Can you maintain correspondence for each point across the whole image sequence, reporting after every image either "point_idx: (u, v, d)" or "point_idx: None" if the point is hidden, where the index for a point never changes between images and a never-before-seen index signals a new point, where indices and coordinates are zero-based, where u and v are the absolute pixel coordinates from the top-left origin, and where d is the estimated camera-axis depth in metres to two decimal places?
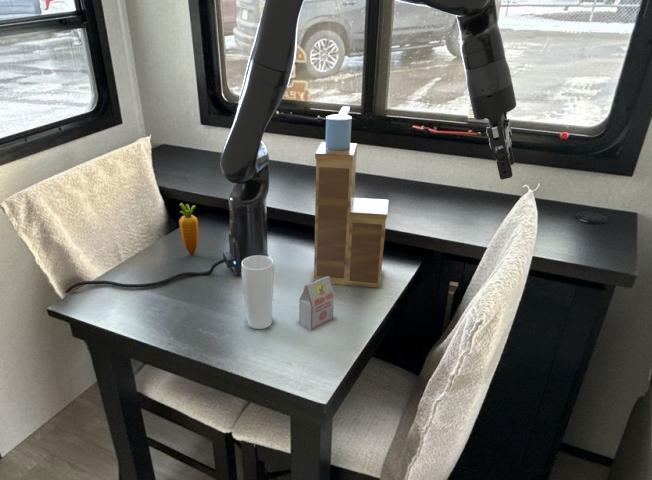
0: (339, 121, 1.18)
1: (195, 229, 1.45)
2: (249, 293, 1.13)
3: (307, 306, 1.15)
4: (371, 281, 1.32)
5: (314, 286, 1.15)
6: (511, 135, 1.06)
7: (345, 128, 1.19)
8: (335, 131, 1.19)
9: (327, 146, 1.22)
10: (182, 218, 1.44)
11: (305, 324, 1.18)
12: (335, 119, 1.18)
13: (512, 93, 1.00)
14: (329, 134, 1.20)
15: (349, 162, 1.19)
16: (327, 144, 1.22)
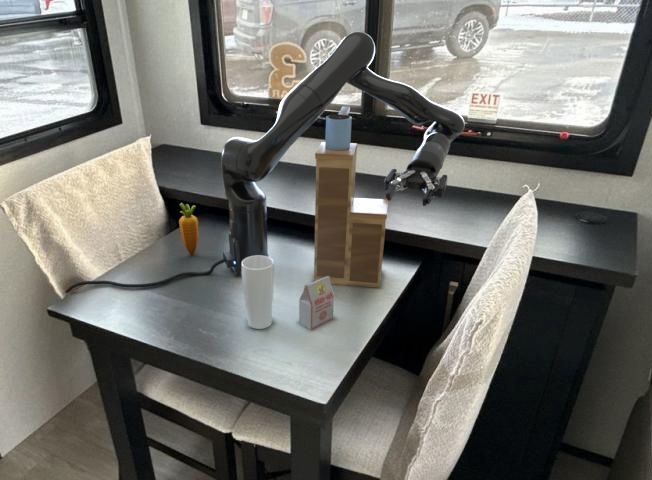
0: (339, 121, 1.18)
1: (195, 229, 1.45)
2: (249, 293, 1.13)
3: (307, 306, 1.15)
4: (371, 281, 1.32)
5: (314, 286, 1.15)
6: None
7: (345, 128, 1.19)
8: (335, 131, 1.19)
9: (327, 146, 1.22)
10: (182, 218, 1.44)
11: (305, 324, 1.18)
12: (335, 119, 1.18)
13: None
14: (329, 134, 1.20)
15: (349, 162, 1.19)
16: (327, 144, 1.22)
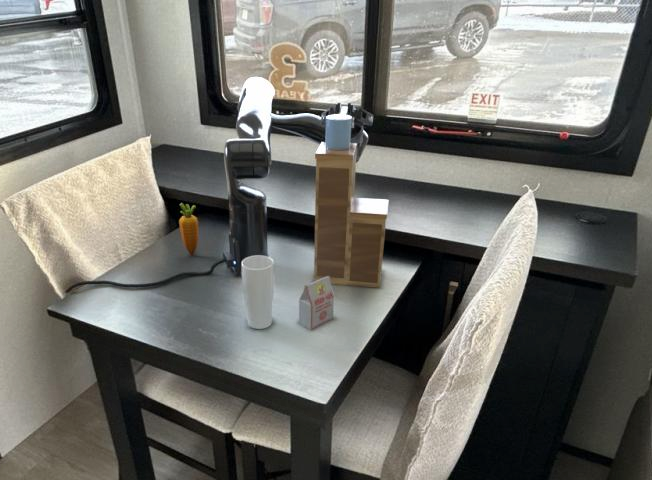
0: (339, 121, 1.18)
1: (195, 229, 1.45)
2: (249, 293, 1.13)
3: (307, 306, 1.15)
4: (371, 281, 1.32)
5: (314, 286, 1.15)
6: None
7: (345, 128, 1.19)
8: (335, 131, 1.19)
9: (327, 146, 1.22)
10: (182, 218, 1.44)
11: (305, 324, 1.18)
12: (335, 119, 1.18)
13: (351, 140, 1.43)
14: (329, 134, 1.20)
15: (349, 162, 1.19)
16: (327, 144, 1.22)
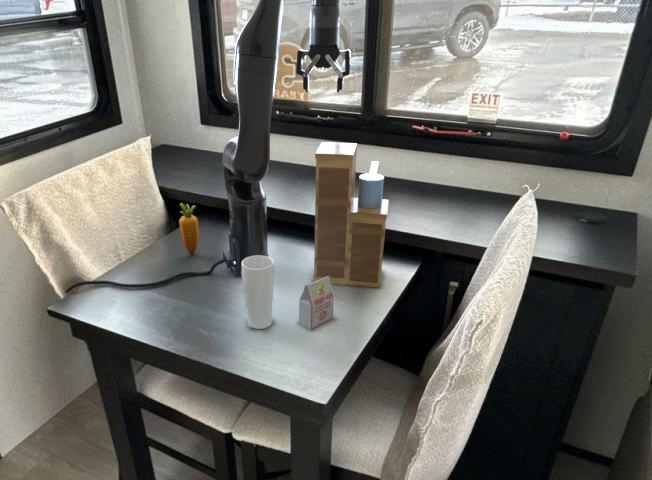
0: (372, 182, 1.23)
1: (195, 229, 1.45)
2: (249, 293, 1.13)
3: (307, 306, 1.15)
4: (371, 281, 1.32)
5: (314, 286, 1.15)
6: (314, 66, 1.47)
7: (378, 188, 1.24)
8: (368, 191, 1.24)
9: (360, 204, 1.27)
10: (182, 218, 1.44)
11: (305, 324, 1.18)
12: (368, 180, 1.23)
13: None
14: (362, 193, 1.25)
15: (349, 162, 1.19)
16: (360, 202, 1.27)
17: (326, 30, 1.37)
